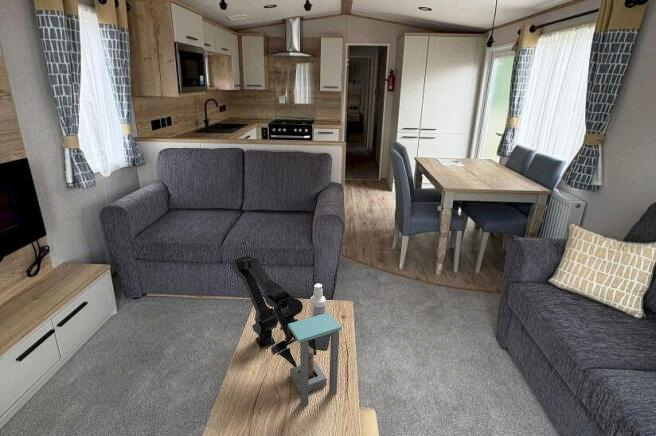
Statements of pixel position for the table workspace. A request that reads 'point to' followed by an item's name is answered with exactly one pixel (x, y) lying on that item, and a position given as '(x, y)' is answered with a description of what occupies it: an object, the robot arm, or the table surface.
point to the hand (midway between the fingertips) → (305, 360)
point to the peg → (311, 363)
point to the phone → (322, 342)
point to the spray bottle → (317, 301)
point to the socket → (313, 383)
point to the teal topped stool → (303, 333)
